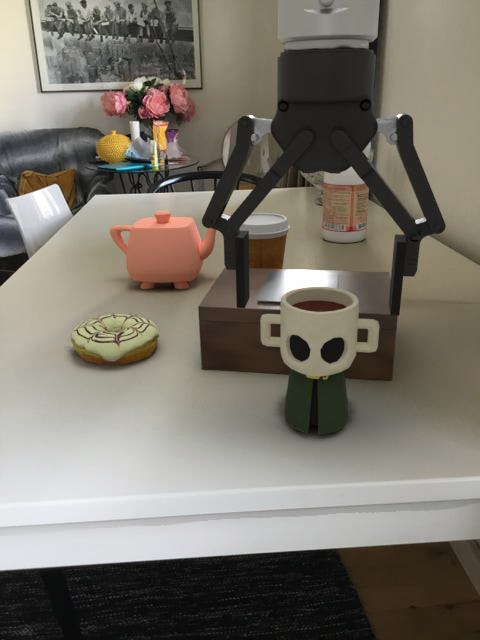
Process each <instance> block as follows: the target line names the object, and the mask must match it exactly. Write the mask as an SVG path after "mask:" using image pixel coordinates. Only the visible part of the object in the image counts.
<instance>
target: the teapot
mask: <svg viewBox="0 0 480 640" xmlns="http://www.w3.org/2000/svg"><path fill="white" fill-rule="evenodd" d="M171 213H172V212H171V211H168V210H160V211H155V212H154V214H153V215H154V216H152V217H151V216H150V217H142V218H140V219H138V220H137V221H136V222H135V223H134V224H133V225H126V224H116V225H113V226H111V227H110V229H109V234H110V236H111V239H112V241H113V242H114V243H115V245H116V246H117V247H118V248H119V249H120V251H122V252H123V253H124V254H125V255H126V257H125V265H126V266H125V267H126V271H127V273H128V275H129V277H130V278H131V280H132V281H135V282H142V283H141V284H140V287H139V288H140V289H143V290H149V289H153V288H155V285H156V283H173V286H174V288H175V289H177V290H184V289H188V288H189V287H190V286H189V283H188V282H190V281H194V280H195V279H197V277H198V276H199V275H200V272H201V270H202V267H203V264H204V261H205V260H206V259H208V258H209V257H210V255H212V253H213V251H214V249H215V248H214V247H215V243H216V236H217V235H216V234H217V230H215V229H213V228H207V230H206V236H205V238H204V239H203V241H202V239H201V234H200V232H199V229H198V227H197V225H196V222H195V220H194V218H193V217H189V216H171ZM122 232H129V236H128V241H127V244H126V242H125V240H124V239H123V236H122Z"/></svg>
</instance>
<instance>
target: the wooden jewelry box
mask: <svg viewBox="0 0 480 640" xmlns="http://www.w3.org/2000/svg"><path fill="white" fill-rule="evenodd" d="M390 283H391V274H390V272H389V271H368V270H367V271H366V270H362V271H361V270H327V269H323V270H322V269H292V268H282V269H263V268H249V294H250V298H249V300H248V302H247V304H246V306H245V308H237V302H236V270H227V269H226V267H225V266H224V268H223V269H222V271H221V273H220V274H219V275H218V277H217V278H216V279H215V281H214V283H213V284H212V285H211V287H210V288H209V290H208V291H207V293H206V294H205V296H204V297H203V298H202V300H201V302H200V303H199V304H198V306H197V308H198V309H197V311H198V328H199V345H200V346H199V347H200V363H201V365H200V366H201V370H213V371H227V372H228V371H231V372H245V373H248V372H249V373H262V374H263V373H264V374H265V373H266V374H279V375H290V372H291V370H292V369H291V368H290V367H289V366H287V365H286V364H285V363H284V361H283V358H282V356H281V351H280V347H273V346H266V345H263V344H262V342H261V324H260V319H261V316H262V315H264V314H281V297H282V296H283V295H284V294H285V293H286V292H289V291H291V290H294V289H298V288H304V287H331V288H338V289H341V290H345V291H348V292H350V293H352V294H354V295H355V296H356V297H357V299H358V300H359V316H358V319H374V320H376V321H378V323H379V338H378V347H377V350H376V351H375V352H370V353H368V352H356V356H355V358H354V360H353V362H352V364H351V365H350V367H349V368H347V369H346V370H344V371H343V373H344V376H345V379H361V380H377V381H379V380H380V381H393V376H394V362H395V352H396V341H397V340H396V339H397V330H398V319H399V318H398V317H399V316H395V315H390V310H389V294H390ZM271 337H281V324H271ZM367 340H368V329H359V328H358V332H357V342H367Z"/></svg>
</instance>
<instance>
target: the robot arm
mask: <svg viewBox="0 0 480 640" xmlns="http://www.w3.org/2000/svg"><path fill="white" fill-rule="evenodd" d="M380 2H381V0H277V41H278V42H279V43H280V44H281V45H285V46H284V47H285V48H284V49H283V51H281V52H280V53H279V56H277V58H276V59H277V61H276V64H277V66H276V67H277V71H276V73H277V77H276V81H277V82H276V111H275V113H274V116H273V118H272V119H270V118H263V117H256V116H254V114H246V115H242V116H241V117H239V119H238V121H237V124H236V125H237V126H236V136H235V145H234V148H233V150H232V152H231V154H230V157H229V158H228V161H227V163H226V165H225V167H224V170H223V171H222V174H221V176H220V178H219V181H218V183H217V184H216V187H215V189H214V192H213V194H212V196H211V198H210V201H209V203H208V205H207V207H206V210H205V211H204V214H203V216H202V218H201V224H202V225H203V227H204V228H206V229H208V228H213V229H215V230H216V231H218V232H219V233H220V234H221V236H222V238H223V262H224V264H223V265H224V268H225V267H226V269H227V270H236V302H237V308H245V306H246V304H247V302H248V300H249V298H250V294H249V231H245V230H241V231H240V227H241V225H242V224H243V223H244V222H245V221H246V220H247V218H248V217H249V216H250V215H251V214H252V213H254V211H255V210H256V209H257V208H258V207H259V206H260V204H261V203H262V202H263V201H264V200H265V198H266V197H267V196H268V195H269V194H270V192H271V191H272V190H273V189H274V188H275V186H276V185H277V184H278V183H279V182H280V181H281V179H283V177H285V175H286V174H287V173H288V171H289V170H290V169H291V168H292V167H293V168H294V169H295V170H297V171H299V172H301V173H302V174H315V173H318V172H323V173H324V172H328V173H331V174H341V172H343V171H346V170H347V169H349V168H350V167H352V168H353V169H354V171H355V172H356V173H357V175H358V176H359V177H360V178H361V179H362V180H363V181H364V183H365V184H366V185H367V187H368V188H369V191H370V192H371V194H373V196H374V198H375V199H376V200H377V201H378V202H379V203H380V205H381V206H382V207H383V208H384V210H385V211H386V213H388V215H389V216H390V217H391V219H392V220H393V221H394V223H395V224H396V226H397V227H398V228H399V229H400V230H401V232H402V233H403V234H402V233H401V234H398V233H396V234H395V233H394V239H393V250H392V262H391V273H390V279H391V283H390V294H389V310H390V315H395V316H398V317H400V314H401V313H400V312H401V304H402V292H403V283H404V277H415V275H416V274H417V273H418V265H419V257H420V256H419V255H420V247H421V242H422V240H423V239H425V237H428V236H431V235H434V234H435V235H439V234H442V233H443V232H444V231H445V230H446V227H447V226H446V222H445V219H444V217H443V215H442V212H441V209H440V207H439V204H438V202H437V199H436V196H435V194H434V191H433V189H432V187H431V184H430V181H429V179H428V177H427V174H426V172H425V169H424V166H423V164H422V162H421V159H420V156H419V154H418V152H417V149H416V147H415V144H414V143H415V141H414V119H413V117H412V116H411V115H410V114H408V113H406V112H401V113H398V114H397V115H395V116H388V117H380V118H376V116H375V113H374V92H375V91H374V90H375V77H376V63H377V54H376V53H375V51H374V49H369V47H370V45H369V43H373V42H374V41H375V40H376V39H377V38H378V35H379V17H380ZM377 133H380V134H382V135H384V138H385V140H386V142H387V143H388V144H389V145H391V146H392V145H393V146H395V147H396V150H397V154H398V156H399V158H400V160H401V163H402V167H403V168H404V171H405V174H406V176H407V178H408V181H409V183H410V185H411V188H412V191H413V192H414V195H415V197H416V200H417V203H418V205H419V207H420V210H421V212H422V215H423V217H422V218H419V219H415V218H414V217H413V216H412V214H411V213H410V211H409V210H408V209H407V208H406V206H405V205H404V204H403V203H402V201H401V200H400V199H399V197H398V196H397V195H396V193H395V192H394V190H393V189H392V188H391V187H390V186H389V184H388V183H387V181H386V180H385V179H384V177H383V176H382V175H381V173H379V171H378V169H376V167H375V166H374V164H373V163H372V162H371V160H370V159H369V157H368V158H367V156H366V155H365V154H364V153H363V151H364V149H365V148H366V147H367V146H368V144H369V143H370V142H371V143H372V140H373V139H374V138H375V137H376V135H377ZM267 134H271V136H272V138H273V139H274V141H275V142H276V143H277V145H278V147H279V148H280V149H281V151H282V153H281V155H280V156H279V157H278V158H277V160H276V161H275V162H274V163H273V164H272V165H271V167H270V169H269V170H268V171H267V172H266V173H265V175H263V176H262V178H261V179H260V180H259V182H257V184H256V185H255V186H254V187H253V189H252V190H251V191H250V192H249V194H248V195H246V197H245V199H244V200H243V201H242V202H241V203H240V204H239V206H238V207H237V208H236V210H234V212H233V213H232V214H231V215H228V214H224V212H225V210H226V208H227V206H228V204H229V201H230V199H231V197H232V195H233V194H234V191H235V189H236V187H237V184H238V182H239V180H240V178H241V176H242V174H243V171H244V169H245V167H246V165H247V163H248V161H249V158H250V157H251V154H252V152H253V149H254V146H257V145H259V144H260V143H262V141H264V138H265V136H266V135H267Z"/></svg>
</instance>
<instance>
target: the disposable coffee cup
mask: <svg viewBox="0 0 480 640" xmlns="http://www.w3.org/2000/svg"><path fill="white" fill-rule="evenodd" d="M290 229H291V225H290V224H289V222H288V218H287V216H286V215H283V214H279V213H272V212H252V214H251V215H250V216H249V217H248V218H247V220H246V221H245V222H244V223H243V224H242V225H241V227H240V231H241V230H245V231H249V268H263V269H284V259H285V252H286V244H287V236H288V233H289V230H290Z"/></svg>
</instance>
